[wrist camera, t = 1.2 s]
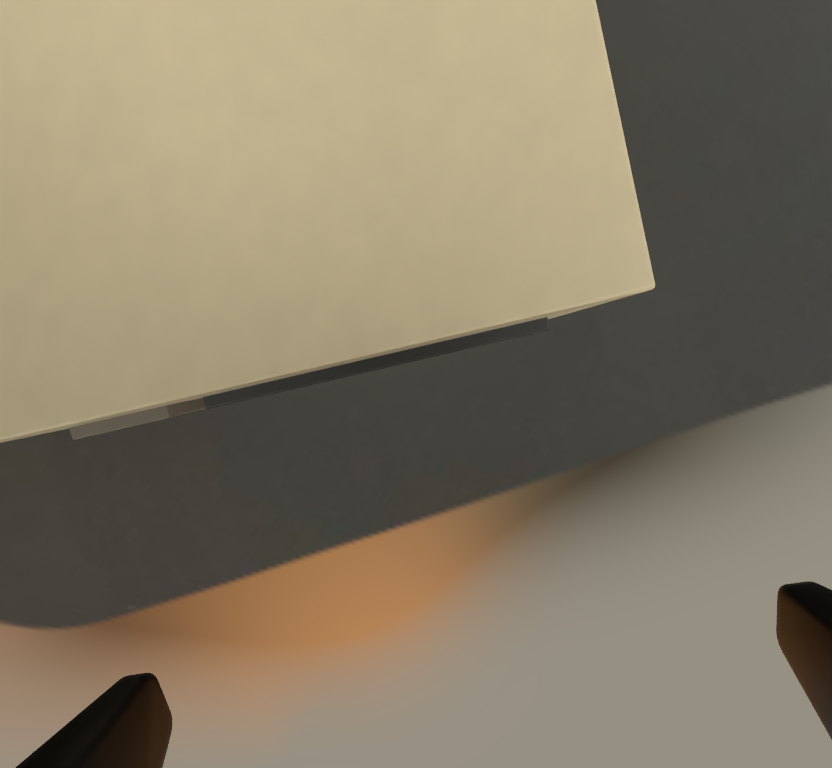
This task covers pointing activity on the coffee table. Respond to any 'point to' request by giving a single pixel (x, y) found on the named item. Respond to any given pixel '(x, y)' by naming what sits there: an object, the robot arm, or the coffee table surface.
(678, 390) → the coffee table surface
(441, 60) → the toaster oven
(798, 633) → the robot arm
